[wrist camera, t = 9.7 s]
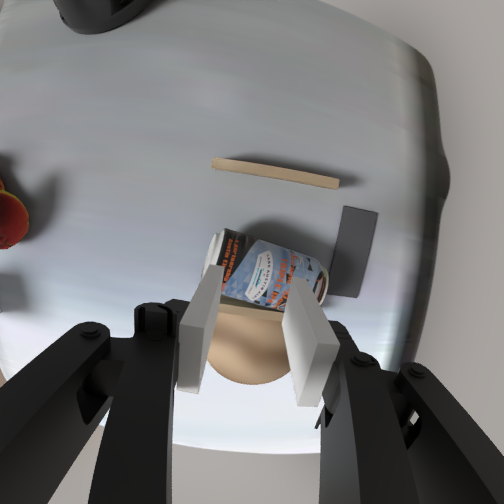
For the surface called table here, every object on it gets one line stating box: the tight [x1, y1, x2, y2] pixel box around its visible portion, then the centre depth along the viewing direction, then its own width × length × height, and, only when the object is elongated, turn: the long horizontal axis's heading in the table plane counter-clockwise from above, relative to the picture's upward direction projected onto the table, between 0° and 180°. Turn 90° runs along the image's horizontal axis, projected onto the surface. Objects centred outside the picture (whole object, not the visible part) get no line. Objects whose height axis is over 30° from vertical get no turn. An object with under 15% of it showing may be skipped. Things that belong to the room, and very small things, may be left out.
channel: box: [211, 157, 340, 321], centre depth 29 cm, size 15×12×4 cm
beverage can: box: [201, 228, 329, 311], centre depth 28 cm, size 6×7×12 cm
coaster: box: [207, 312, 290, 385], centre depth 34 cm, size 12×12×1 cm
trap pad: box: [326, 206, 377, 298], centre depth 31 cm, size 10×4×1 cm, turn 171°
